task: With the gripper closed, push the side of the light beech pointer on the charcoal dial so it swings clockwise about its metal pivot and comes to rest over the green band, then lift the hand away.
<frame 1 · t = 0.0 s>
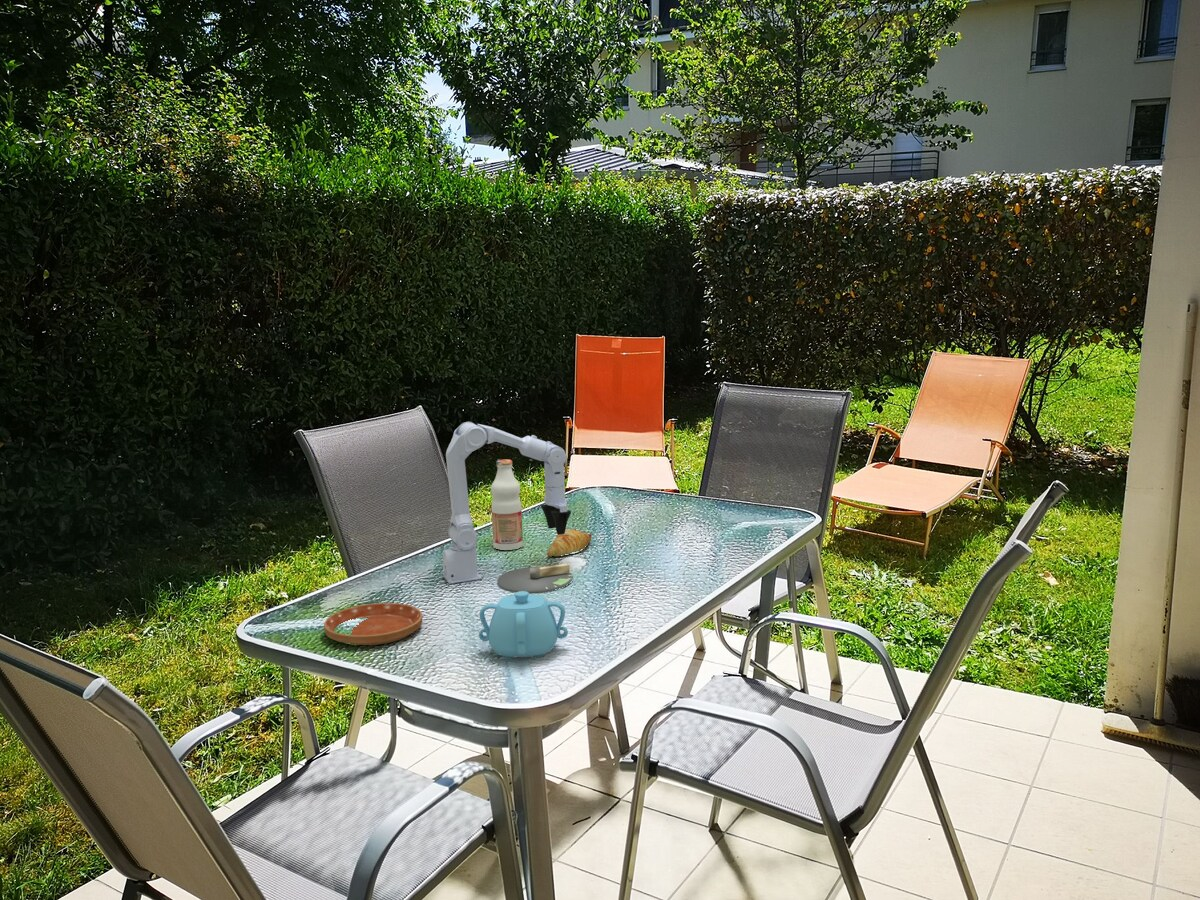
hand: (556, 531, 266), 10 cm above the table, tool pointing down, fingers open, 7 cm apart
decorative pot: (524, 651, 204), on the table
dial: (535, 580, 252), on the table
saucer: (374, 633, 218), on the table
fruit juice: (508, 548, 286), on the table
pointer: (549, 570, 254), point 2 cm above the table, hinge at 0.0°
croissant: (568, 551, 281), on the table
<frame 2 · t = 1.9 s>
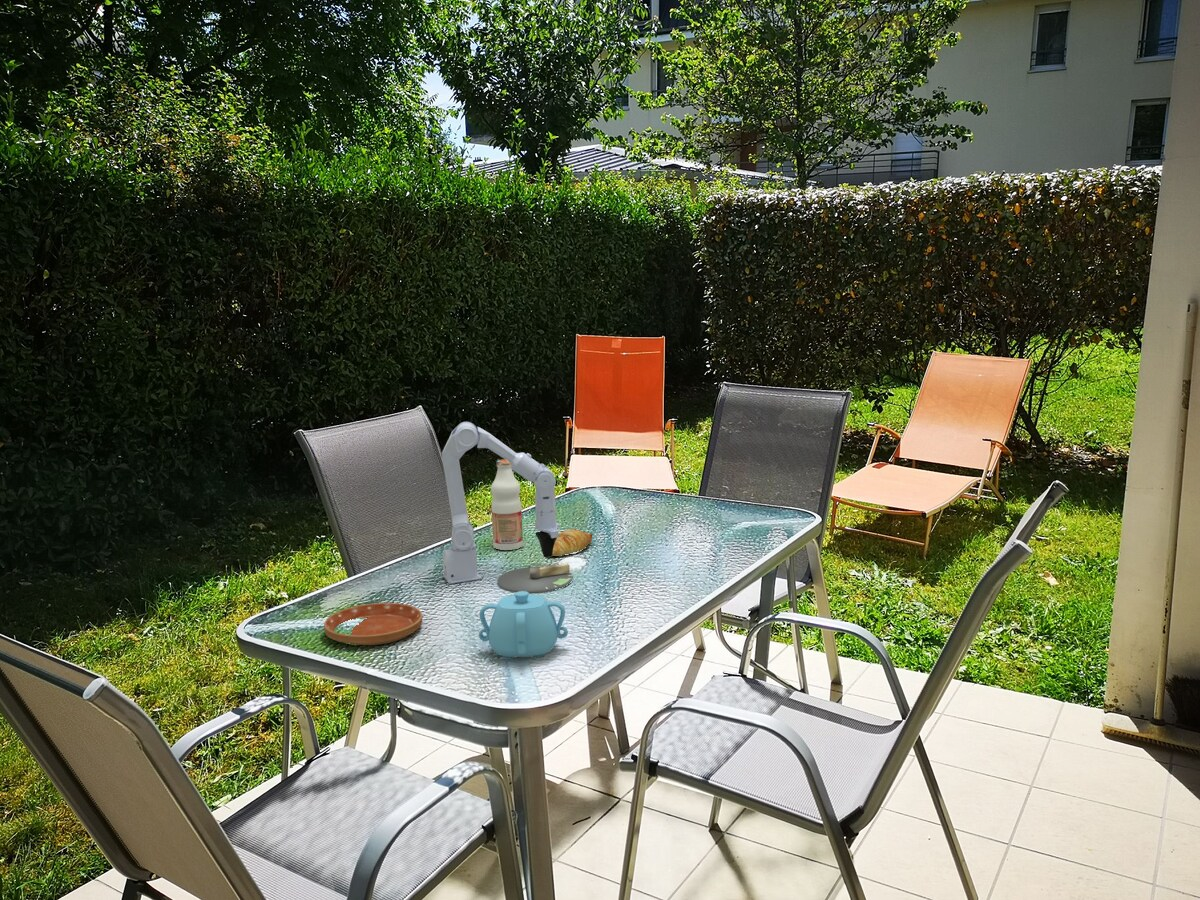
hand: (547, 556, 260), 4 cm above the table, tool pointing down, fingers closed
nothing on the table moved.
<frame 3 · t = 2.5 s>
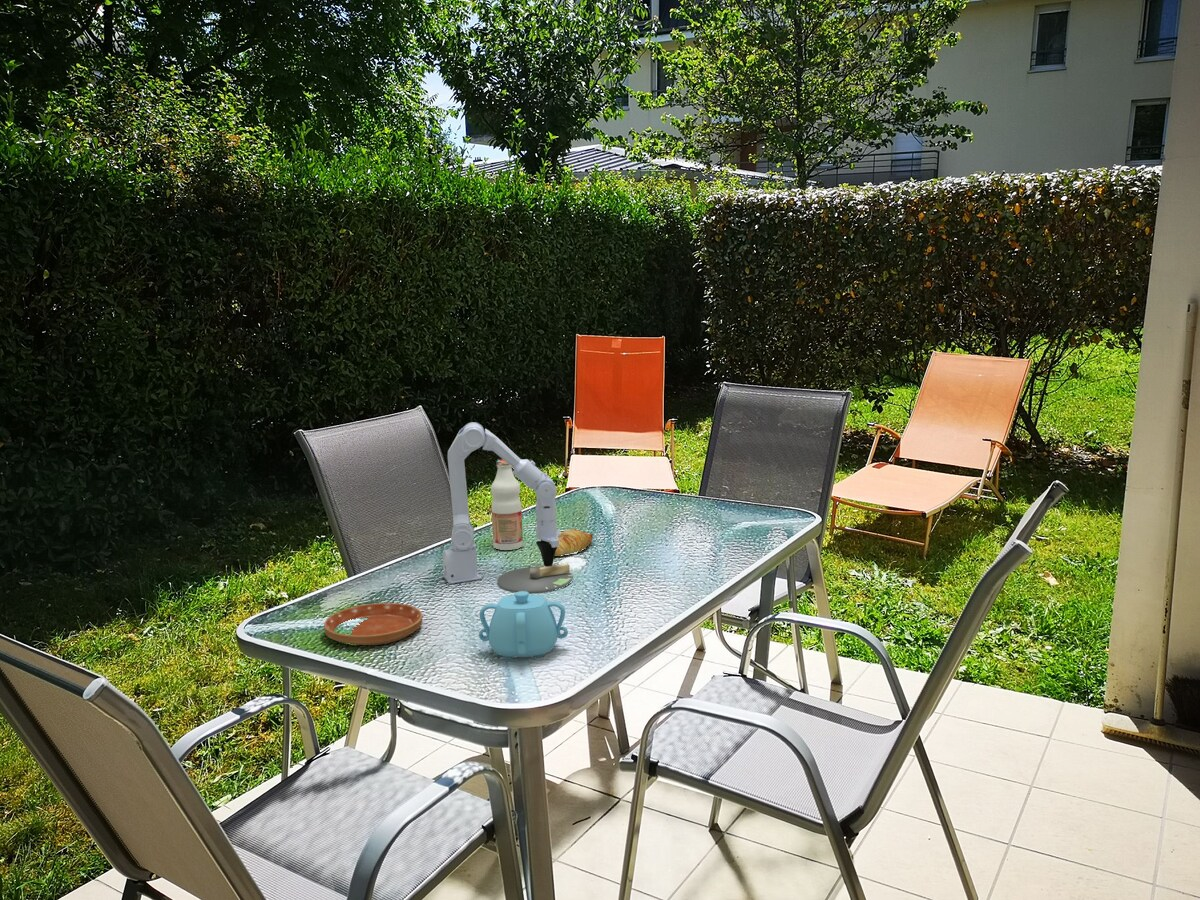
hand: (548, 565, 260), 2 cm above the table, tool pointing down, fingers closed
nothing on the table moved.
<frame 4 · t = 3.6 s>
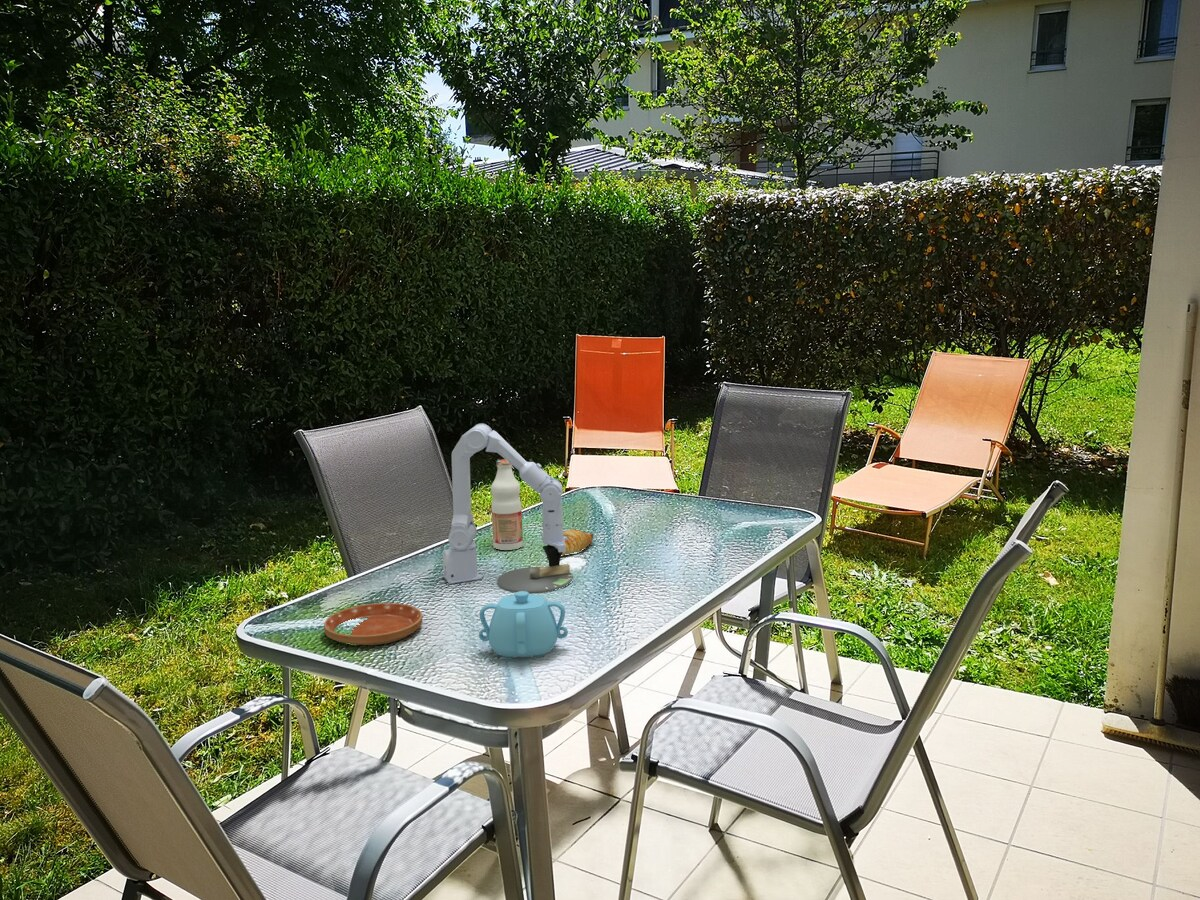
hand: (554, 570, 255), 2 cm above the table, tool pointing down, fingers closed, pressing on pointer
pointer: (549, 570, 254), point 2 cm above the table, hinge at -1.3°, touching gripper
everything else where it was.
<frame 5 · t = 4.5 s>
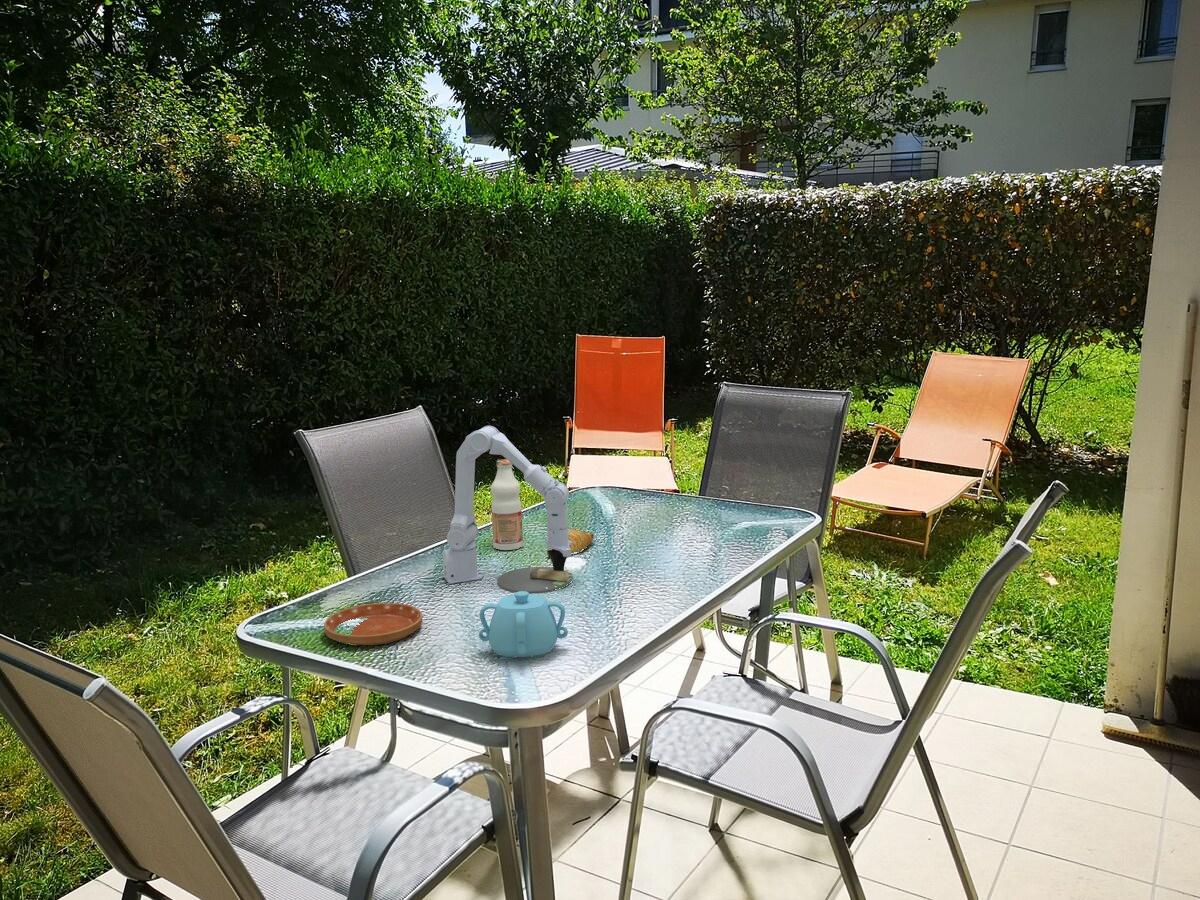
hand: (558, 574, 251), 2 cm above the table, tool pointing down, fingers closed, pressing on pointer
pointer: (548, 574, 250), point 2 cm above the table, hinge at -46.4°, touching gripper
everything else where it was.
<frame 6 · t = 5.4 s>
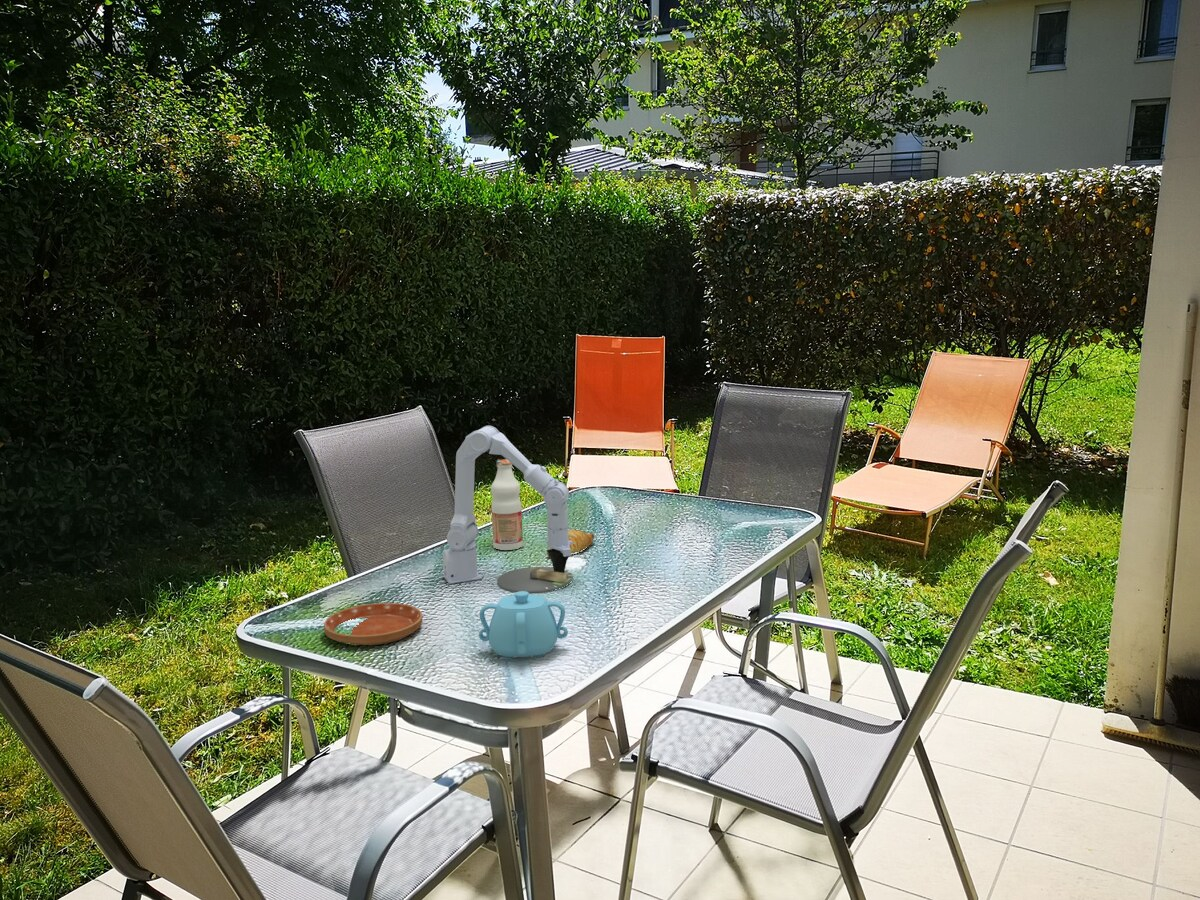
hand: (559, 574, 251), 2 cm above the table, tool pointing down, fingers closed
pointer: (547, 574, 250), point 2 cm above the table, hinge at -54.0°
everything else where it was.
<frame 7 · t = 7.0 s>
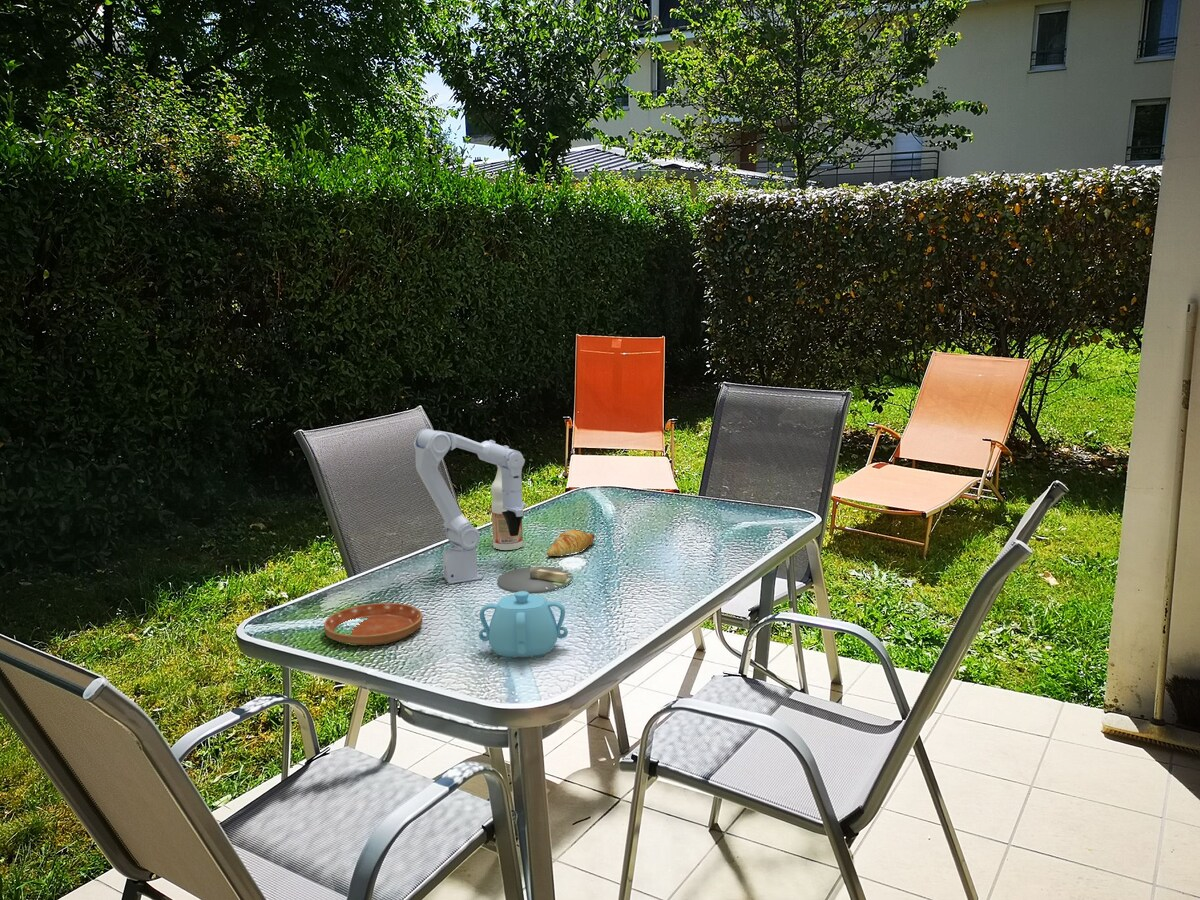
hand: (514, 535, 265), 9 cm above the table, tool pointing down, fingers closed
nothing on the table moved.
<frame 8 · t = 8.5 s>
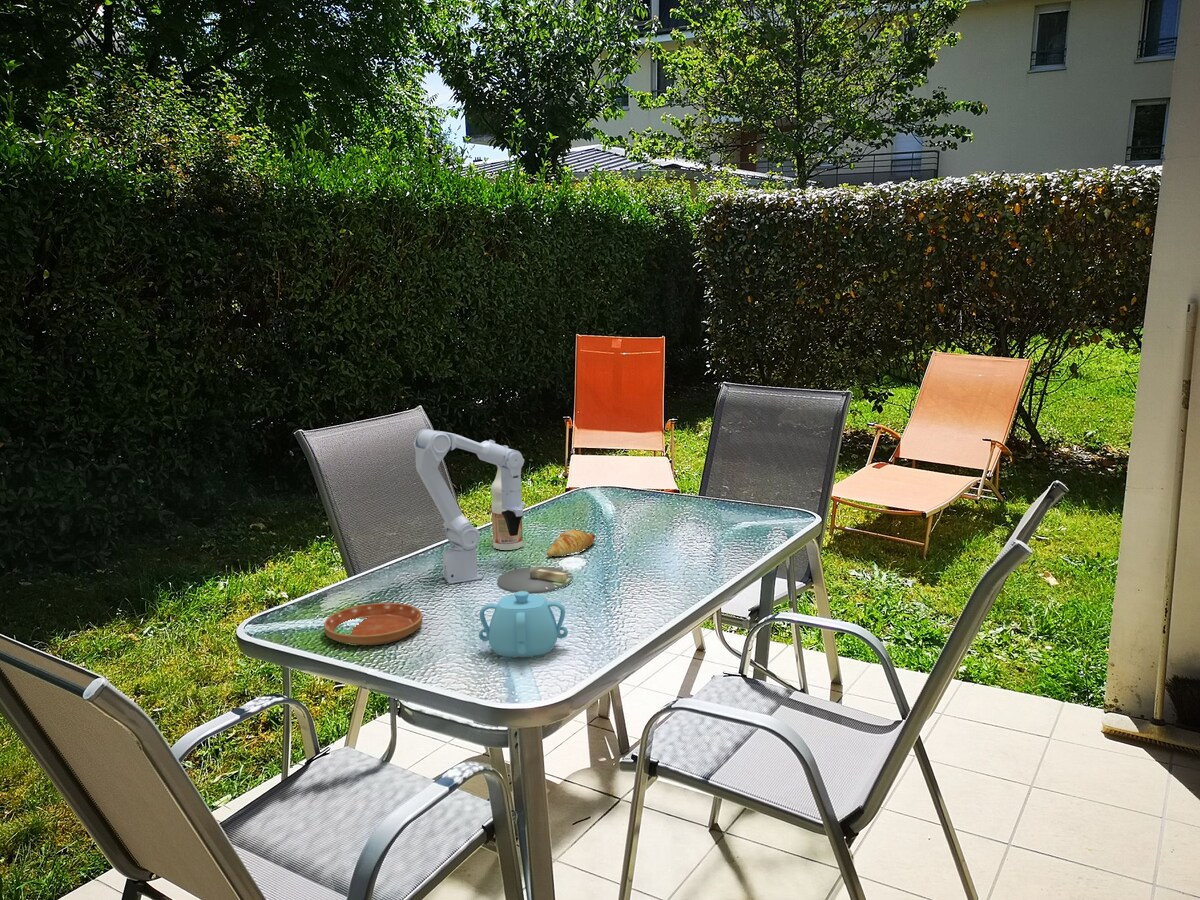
hand: (513, 535, 265), 9 cm above the table, tool pointing down, fingers closed
nothing on the table moved.
at the end: pointer at -54° (first picture: +0°); the gripper is holding nothing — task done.
